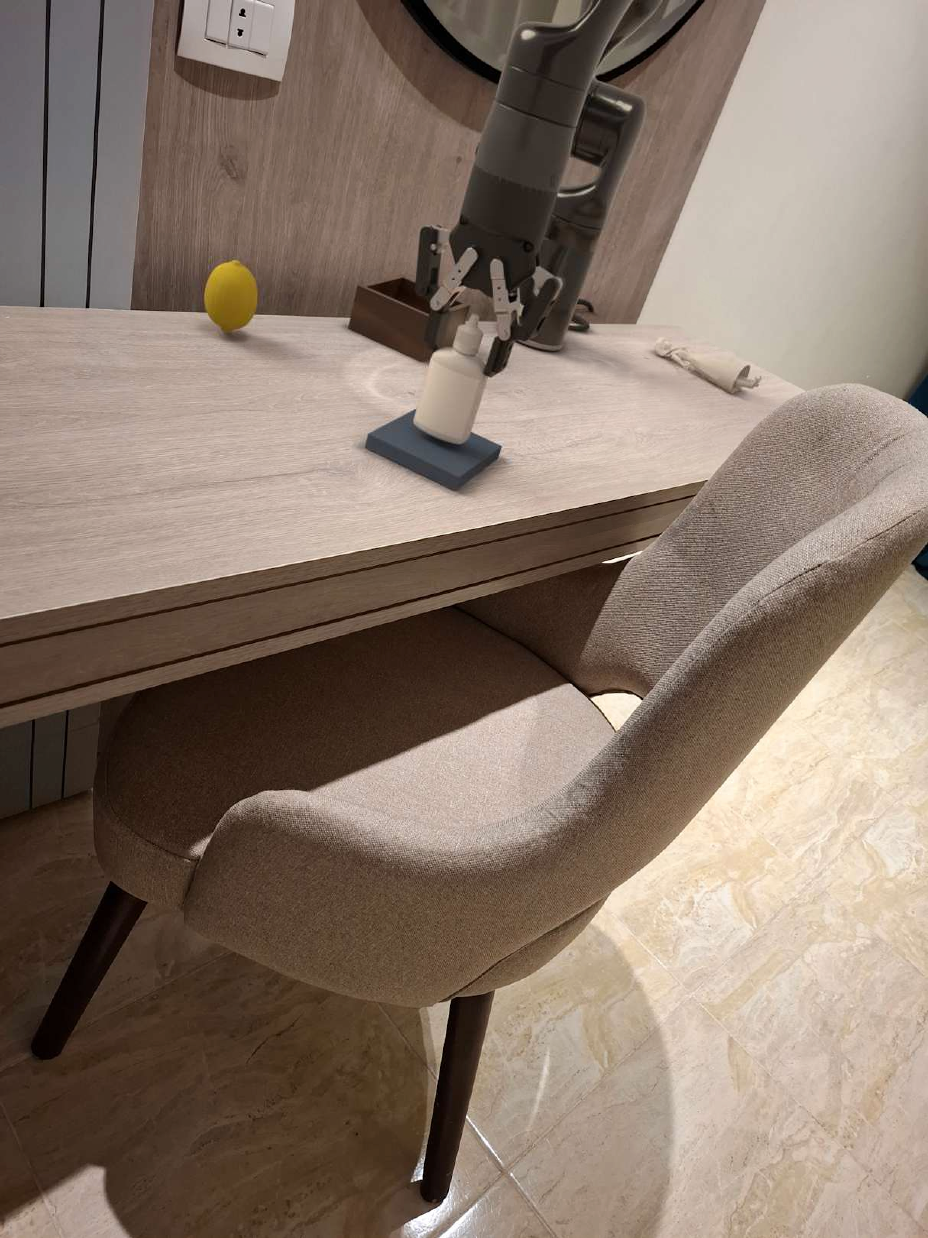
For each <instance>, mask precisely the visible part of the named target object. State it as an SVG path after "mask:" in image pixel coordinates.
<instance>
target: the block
mask: <svg viewBox="0 0 928 1238" xmlns="http://www.w3.org/2000/svg"><path fill="white" fill-rule="evenodd" d="M416 409H417V407H416V408H414V409H412V410H410V411H409V412H407V413H405V414H403V415H401V416H399V417H397V418H395V419H394V420H391V421H389V422H387V423H385V424H383V425H382V426H380V427H378V428H376V429H374V430H372V431H371V432H368V433H367V436H366V441H365V444H364V448H365V449H367V450H369V451H371V452H373V453H375V454H377V455H379V456H381V457H383V458H386V459H388V460H390V461H392V462H394V463H396V464H398V465H400V466H402V467H404V468H406V469H409V470H410V471H412V472H415V473H416V474H419V475H421V476H422V477H425V478H427V479H429V480H431V481H433V482H435V483H438V484H439V485H442V486H444V487H446V488H448V489H450V490H452V491H453V492H456V491H457V490H458V489H459V488H460V489H461V487H463V486H464V485H465V484H466V483H469V481H470V480H472V479H473V478H475V477H476V476H477V475H478V474H480V473H481V472H483V470H485V469H486V468H488V467H489V466H490V465H492V464H493V463H495V462H496V461H497V460H498V459H499V457H500V454H501V451H502V448H503V446H502V445H501V444H498V443H497V442H495V441H492V440H490V439H488V438H485V437H484V436H482V435H479V434H477V433H475V432H473V431H471V433H470V436H469V438H468V439H467V440H466V441H465V442H464V443H463V444H454V443H450V442H446V441H443V440H440V439H438V438H435V437H433V436H431V435H429V434H427V433H425V432H424V431H422V430H420V429H419V428H417V427H416V426H415V424H414V417H415V413H416Z"/></svg>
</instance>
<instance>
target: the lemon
mask: <svg viewBox="0 0 928 1238" xmlns="http://www.w3.org/2000/svg"><path fill="white" fill-rule="evenodd" d="M257 286H258V285H257V281H256V278H255V277H254V275H253V274H252V272H251V271H250V269H248V268H247V267H246V266H244V265H243V264H242V263H241V262H240V260H237V259H233V260H232V261H228V262H224V263H221V264H219V265H217V266H216V267H215V268H214V269H213V270H212V272H211V273H210V275H209V276H208V279H207V282H206V285H205V289H204V295H203V296H204V298H203V299H204V307H205V310H206V314H207V315H208V317H209V319H210V320H211V321H212V322H213V323H214V324H215V326H218V327H219V328H220V329H221V331H222V332H223V333H224V334H230V333H232V332H233V331H236V330H240V329H243V328H244V327H246V326H247V325H248V324H249V323H250V322H251V320H252V319H253V318H254V316H255V315H256V310H257V306H258V298H259V296H258V287H257Z"/></svg>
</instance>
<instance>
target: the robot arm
mask: <svg viewBox="0 0 928 1238" xmlns="http://www.w3.org/2000/svg"><path fill="white" fill-rule="evenodd" d="M662 3H663V0H580V7H579V12H578V17H577V19H576V20H574V21H572V22H567V23H552V22H543V21H542V22H541V21H525V22H522V23H520V24H519V25H517V26H516V28H515V29H514V31H513V33H512V36H511V39H510V41H509V45H508V48H507V52H506V55H505V59H504V62H503V66H502V70H501V74H500V78H499V81H498V83H497V89H496V92H495V95H494V98H495V99H494V100H493V102H492V106H491V108H490V111H489V113H488V116H487V118H486V121H485V123H484V126H483V128H482V132H481V135H480V138H479V142H478V143H477V146H476V147H475V153H474V155H475V157H474V161H473V164H472V168H471V172H470V175H469V180H468V183H467V186H466V190H465V194H464V198H463V201H462V205H461V209H460V215H459V219H458V221H457V223H456V224H455V226H454V227H453V228H451V229H449V228H443V227H442V226H441V225H440V224H430V225H426V226H425V225H424V226H423V227H421V228H420V231H419V239H418V247H417V248H418V251H417V261H416V271H415V272H416V273H415V281H416V282H415V292H416V294H417V295H418V296H423V297H424V298H425V299H426V300H427V301H428V302H429V304H430V307H431V310H430V314H429V318H428V321H427V326H426V329H425V332H424V341H425V342H427V346H426V349H428V350H430V351H432V352H435V351H436V350H438V349H439V348H441V347H442V345H443V341H444V338H445V334H446V331H447V327H448V324H449V320H450V317H451V313H452V311H450V310H449V308H450V306H451V304H452V303H453V302H454V301H455V299H458V297H459V296H460V295H461V294H462V292H463V291H465V290H466V289H467V288H468V289H470V290H476V291H479V292H481V293H482V294H483V295H485V296H486V297H489V298H490V299H492V300H493V312H494V313H495V315H496V327H497V336H495V337H494V338H493V341H492V344H491V347H490V351H489V353H488V357H487V360H486V363H485V364H486V366H485V369H484V375H486V376H488V378H490V379H491V378H493V377H496V375H498V374H500V373H502V372H503V371H504V370H505V369H506V368H507V365H508V363H509V360H510V357H511V354H512V352H513V351H512V350H513V348H514V344H515V342H519V343H521V344H523V345H526V346H529V347H532V348H534V349H538V350H541V351H542V350H543V351H550V352H551V351H552V352H554V351H555V352H557V351H560V350H562V349H563V345H564V343H565V338H566V335H567V334H568V333H567V332H568V331H570V332H585V331H587V330H589V329H590V326H591V325H590V323H589V321H587V319H584V318H583V317H582V316H580V315H578V314H576V313H575V312H576V308H577V306H578V305H579V306H584V307H586V308H587V309H588V312H590V313H594V312H595V309H594V306H593V304H592V303H591V302H590V301H589V300H587V299H583V298H580V296H581V294H582V291H583V289H584V285H585V282H586V281H587V277H588V275H589V272H590V269H591V267H592V264H593V261H594V258H595V255H596V253H597V249H598V246H599V244H600V241H601V238H602V236H603V233H604V230H605V227H606V224H607V221H608V218H609V215H610V212H611V211H612V207H613V204H614V201H615V198H616V196H617V193H618V190H619V188H620V184H621V182H622V180H623V177H624V175H625V172H626V170H627V168H628V165H629V163H630V161H631V158H632V156H633V153H634V151H635V148H636V146H637V144H638V142H639V139H640V136H641V133H642V130H643V128H644V125H645V121H646V117H647V103H646V101H645V99H644V98H643V97H642V96H640V95H639V94H636V93H633V92H632V91H631V92H630V91H628V90H625V89H623V88H620V87H617V86H615V85H612V84H609V83H606V82H604V81H600V80H598V79H597V78H596V72H597V71H598V69H599V67H600V66H601V65H602V64H603V63H604V61H605V60H606V59H607V58H608V57H609V55H610V54H611V53H612V52H613V51H614V50H615V49H616V48H618V47H619V45H621V44H622V43H623V42H625V40H627V39H628V38H629V37H630V36H632V34H634V33H635V32H636V31H637V30H638V29H639V28H641V27H642V26H643V25H644V23H646V22H647V21H648V20H649V19H650V18H651V17H652V16H653V14H654V13H655V12H656V11H657V10H658V8H659V6H660V5H661V4H662ZM570 158H571V159H575V160H577V161H580V162H583V163H586V164H588V165H591V166H593V167H596V168H598V169H599V170H598V172H597V175H596V176H595V177H594V178H592V179H590V180H587V181H584V182H580V183H563V180H564V177H565V173H566V170H567V167H568V163H569V160H570ZM448 245H449V246H450V251H451V253H452V257H453V261H454V264H455V265H454V267H453V268H452V269H451V271H450V272H449V273H448V274H447V275H446V277H445V278H444V279H443V281H442V283H441V286H439V280H440V272H441V271H440V270H441V260H442V253H444V252H445V251H446V250H447V247H448ZM572 320H574V321H575V322H577V323H579V324H581V325H573V324H572V325H571V322H572Z"/></svg>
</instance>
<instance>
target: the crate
mask: <svg viewBox="0 0 928 1238" xmlns="http://www.w3.org/2000/svg"><path fill="white" fill-rule="evenodd" d="M415 282H416V280H414V279H413V278H409V277H407V276H405V275H402V274H398V275H394V276H389V277H385V278H381V279H380V278H379V279H377V280H373V281H369V282H365V283H360V284H357V286H356V290H355V295H354V299H353V303H352V309H351V314H350V318H349V323H348V326H347V329H348V330H351V331H352V332H355V333H357V334H359V335H361V336H364V337H366V338H368V339H371V340H373V341H375V342H377V343H380V344H381V345H384V346H385V347H388V348H390V349H392V350H395V351H396V352H399V353H401V354H404V355H406V356H408V357H409V358H413V359H414V360H417V361H419V362H424V361H426V360H428V359H431V357H432V355H433V353H434V352H432V351H430V350H428V349H426V346H427V342H425V341H424V332H425V329H426V326H427V321H428V318H429V314H430V310H431V307H430V304H429V302H428V301H427V300H426V299H425V298H424V297H423V296H418V295H417V294H416V292H415ZM470 308H471V304H469V303H467V302H465V301H462V300H460V299H458V298H456V299H455V301H454V302H453V303H452V304H451V306H450V308H449V310H450V311H452V313H451V317H450V320H449V324H448V327H447V331H446V334H445V338H444V341H443V345H442V347H453V343H454V340H455V336H456V333H457V329H458V326H459V325H461V324H466V323H467V318H468V315H469V313H470ZM442 347H441V348H442Z"/></svg>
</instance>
